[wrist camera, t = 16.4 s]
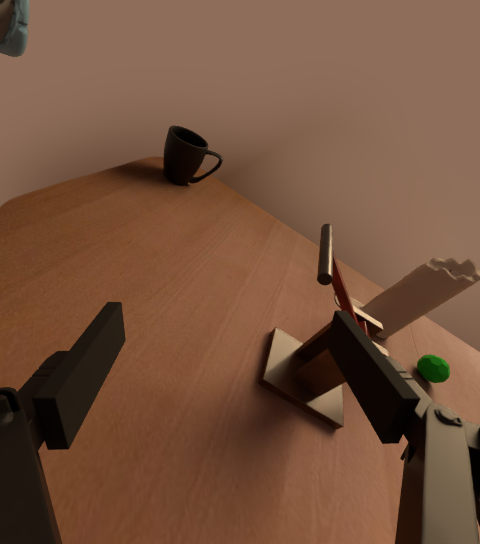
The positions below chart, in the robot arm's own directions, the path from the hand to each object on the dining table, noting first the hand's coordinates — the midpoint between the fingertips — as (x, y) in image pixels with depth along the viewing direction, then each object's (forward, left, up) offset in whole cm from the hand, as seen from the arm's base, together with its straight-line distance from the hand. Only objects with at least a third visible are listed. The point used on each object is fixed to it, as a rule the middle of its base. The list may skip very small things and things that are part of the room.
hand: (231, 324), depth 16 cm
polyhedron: (+44, +24, -16) cm, 53 cm away
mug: (-16, +45, -16) cm, 50 cm away
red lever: (+11, +11, -3) cm, 16 cm away
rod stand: (+16, +11, -16) cm, 25 cm away
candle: (+31, +32, -16) cm, 47 cm away
